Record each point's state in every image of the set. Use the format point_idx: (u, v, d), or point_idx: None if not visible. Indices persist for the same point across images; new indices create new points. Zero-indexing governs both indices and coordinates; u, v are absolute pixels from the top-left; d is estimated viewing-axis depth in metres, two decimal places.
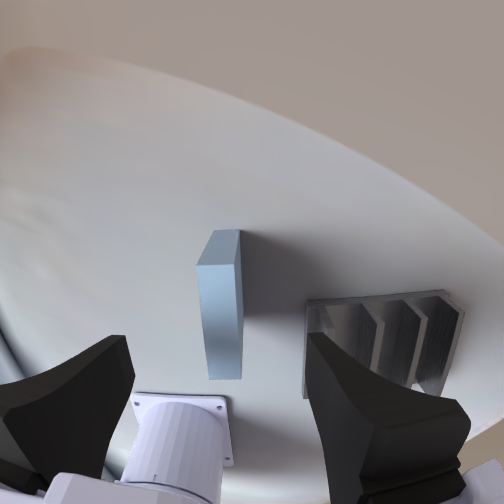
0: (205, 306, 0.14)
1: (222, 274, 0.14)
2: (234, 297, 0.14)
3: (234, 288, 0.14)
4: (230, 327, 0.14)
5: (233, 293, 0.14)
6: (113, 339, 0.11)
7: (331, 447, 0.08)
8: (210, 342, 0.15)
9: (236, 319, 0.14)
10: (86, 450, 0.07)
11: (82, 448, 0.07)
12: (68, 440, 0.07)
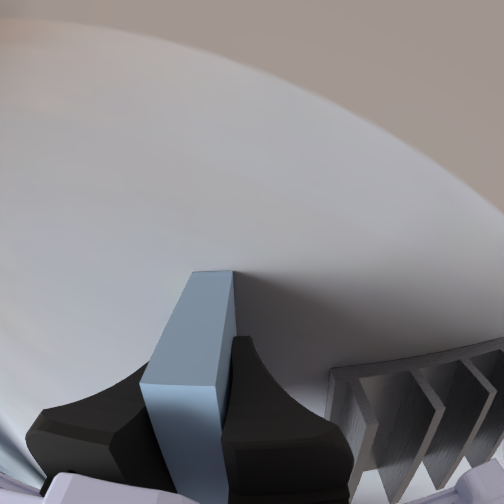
0: (167, 442, 0.07)
1: (192, 401, 0.06)
2: (219, 434, 0.06)
3: (218, 422, 0.06)
4: (214, 469, 0.07)
5: (217, 429, 0.06)
6: None
7: None
8: (182, 482, 0.07)
9: None
10: None
11: None
12: (157, 456, 0.07)
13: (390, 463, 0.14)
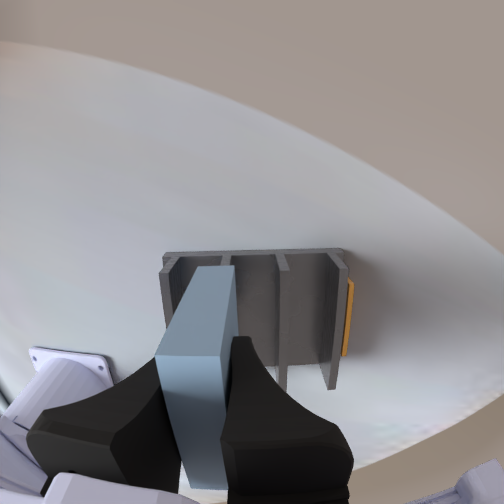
0: (176, 412, 0.08)
1: (200, 370, 0.07)
2: (222, 402, 0.08)
3: (222, 390, 0.08)
4: (217, 438, 0.08)
5: (220, 397, 0.08)
6: None
7: None
8: (188, 453, 0.08)
9: None
10: (169, 463, 0.07)
11: (166, 462, 0.07)
12: (157, 455, 0.07)
13: None
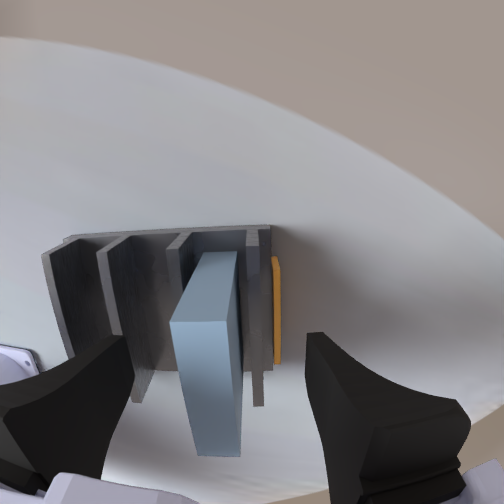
0: (186, 375, 0.09)
1: (209, 335, 0.09)
2: (228, 365, 0.09)
3: (228, 353, 0.09)
4: (223, 402, 0.10)
5: (226, 360, 0.09)
6: (113, 339, 0.11)
7: (331, 447, 0.08)
8: (196, 417, 0.10)
9: (231, 392, 0.09)
10: (86, 450, 0.07)
11: (82, 448, 0.07)
12: (68, 440, 0.07)
13: None
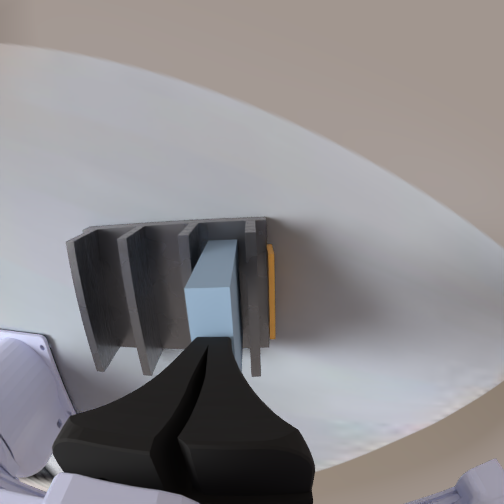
0: (196, 335, 0.12)
1: (216, 299, 0.11)
2: (230, 325, 0.12)
3: (230, 315, 0.11)
4: None
5: (229, 321, 0.11)
6: (204, 341, 0.11)
7: None
8: None
9: (233, 350, 0.12)
10: None
11: None
12: None
13: None
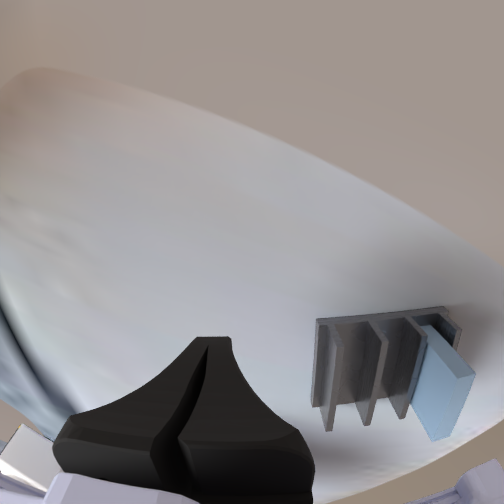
0: (452, 400, 0.16)
1: (468, 380, 0.16)
2: (468, 391, 0.16)
3: (470, 386, 0.16)
4: (458, 408, 0.16)
5: (469, 389, 0.16)
6: (204, 341, 0.11)
7: None
8: (444, 420, 0.17)
9: (463, 403, 0.16)
10: None
11: None
12: None
13: (362, 393, 0.23)
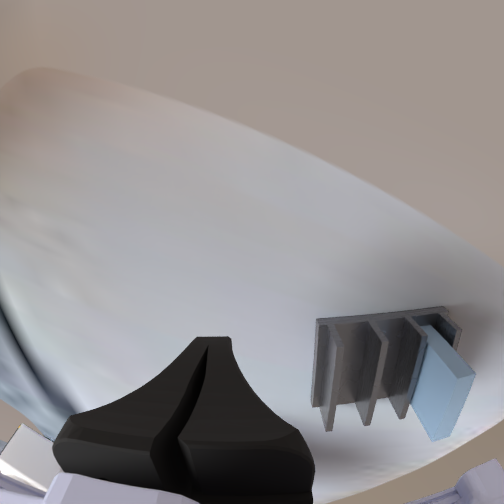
0: (452, 400, 0.16)
1: (468, 380, 0.16)
2: (468, 391, 0.16)
3: (470, 386, 0.16)
4: (458, 408, 0.16)
5: (469, 389, 0.16)
6: (204, 341, 0.11)
7: None
8: (444, 420, 0.17)
9: (463, 403, 0.16)
10: None
11: None
12: None
13: (362, 393, 0.23)
